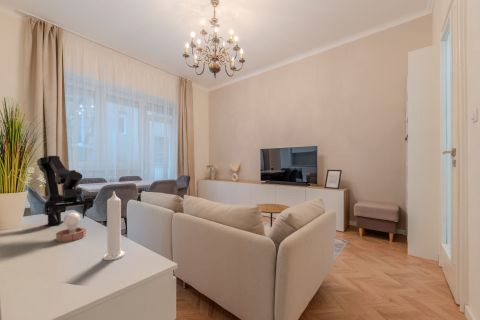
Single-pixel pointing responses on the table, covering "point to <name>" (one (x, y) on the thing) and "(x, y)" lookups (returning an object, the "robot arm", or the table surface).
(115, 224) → the candle
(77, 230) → the holder
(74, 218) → the lightbulb
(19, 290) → the table surface
